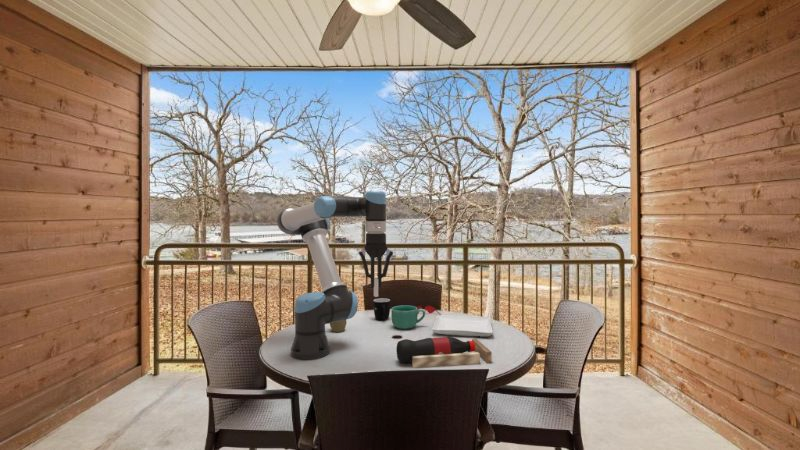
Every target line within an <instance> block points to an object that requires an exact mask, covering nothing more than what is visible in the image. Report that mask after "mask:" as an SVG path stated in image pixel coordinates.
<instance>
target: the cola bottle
mask: <svg viewBox="0 0 800 450" xmlns="http://www.w3.org/2000/svg"><path fill="white" fill-rule="evenodd" d="M463 341H464V340H461V339H459V338H456V337H453V336H451V335H447V336H442V337H426V338H422V339H418V340H411V339H408V338H407V339H402V340H399V341H398V342H397V343H396V357H397V360H398V362H400V363H402V364H411V363H412V356H424V355H440V354H457V353H473V352H475V343H474V341H472V340H466V341H467V342H463Z"/></svg>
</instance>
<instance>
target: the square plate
mask: <svg viewBox="0 0 800 450" xmlns="http://www.w3.org/2000/svg"><path fill="white" fill-rule="evenodd" d="M431 330H432V331H433V332H434V333H435V334H437V335H442V336H443V335H444V336H454V335H458V337H474V336H480V337H481V338H482V337H488V338H489V337H490V336H491V335H493V334H494V330H493V327H492V318H491V317H490V316H489V317H488V316H477V315H476V316H475V315H453V314H452V315H451V314H449V315H447V314H444V315H443V314H441V315H440V314H437V315H436V317H435V321H434V323H433V325H432V328H431Z"/></svg>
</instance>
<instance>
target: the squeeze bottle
mask: <svg viewBox="0 0 800 450" xmlns="http://www.w3.org/2000/svg"><path fill="white" fill-rule="evenodd" d="M347 323H348V322H347V320H345V321H338V322H333V323H329V327H330V329H331V331H332V332H335V333H341V332H344V331H346V326H347Z"/></svg>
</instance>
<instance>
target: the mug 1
mask: <svg viewBox="0 0 800 450" xmlns="http://www.w3.org/2000/svg"><path fill="white" fill-rule="evenodd" d="M372 301H373V313H374V318H375V320H376V321H380V322H381V321H382V322H383V321H387V320H388V319H389V317H390V314H391V313H390V312H391V299H389V298H382V297H381V298H375V299H373V300H372Z"/></svg>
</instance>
